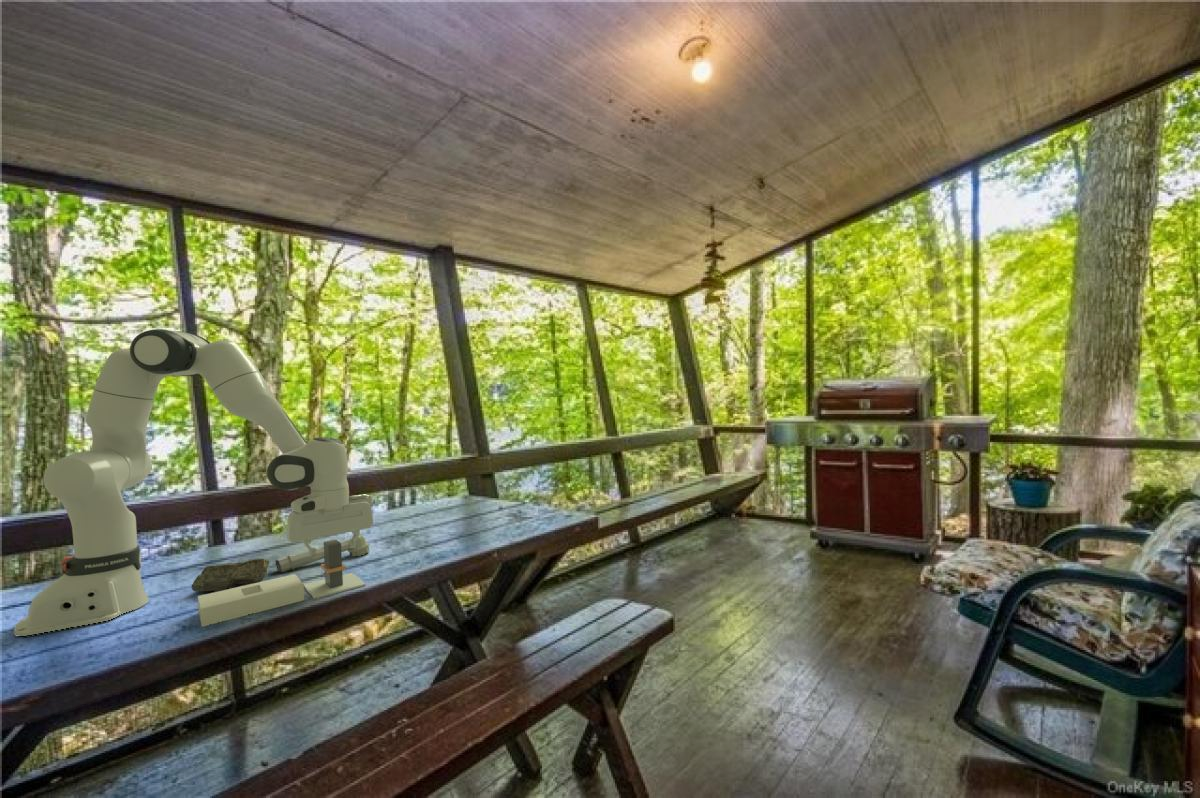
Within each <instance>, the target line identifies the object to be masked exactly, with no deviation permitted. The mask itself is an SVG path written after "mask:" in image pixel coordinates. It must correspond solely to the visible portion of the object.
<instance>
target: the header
mask: <svg viewBox="0 0 1200 798" xmlns="http://www.w3.org/2000/svg"><path fill="white" fill-rule="evenodd" d="M304 584H305V583H303V581H301V580H300V577H299V576H297V575H296V574H295V573H294V574H290V575H286V576H285V575H284V576H281V577H276V578H272V579H267V580H263V581H262V580H261V581H260V582H256V583H250V584H244V585H240V586H237V587H231V588H228V589H225V590H219V591H214V592H211V593H207V594H201V595H197V605H198V607H197V608H198V617H199V621H200V625H201V627H202V628H203V627H207V626H210V624H211V625H215V624H219V623H222V621H223V622H226V621H230V620H234V619H239V618H241V617H245V616H249V615H248V614H250V615H253V614H256V613H260V612H264V611H269V610H271V609H277V608H280V607H284V606H287V605H292V604H295V603H300V602H303V601H305V587H304ZM252 613H253V614H252ZM218 622H219V623H218Z"/></svg>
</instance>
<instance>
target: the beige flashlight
mask: <svg viewBox="0 0 1200 798" xmlns="http://www.w3.org/2000/svg"><path fill="white" fill-rule="evenodd" d="M351 539H352V537H350V538H349V539H346V540H343V541H339V542H340V543H341V553H344V552H346V551H347V553H349V557H351V556H356V557H362V556H361V555H363V556H364V555H365V554H369V553H370V546H371V544H370V542H369V541H366V538H365V536H364V535H363V534H359V536H358V538H357V540H356V547H355V548H348V541H350V540H351ZM315 549H316V553H317V555H316V556H312V557H310V556H309V550H305V551H302V552H297V553H295V554H288V555H287V556H284V557H281V558H277V559H275V566H276V571H277V573H278V574H280V572H281V573H286V572H288V571H291V570H292V571H294V570H295V569H297V568H300V567H302V566H306V565H309V564H311V563H315V562H317V561H321V560H324V546H320V547H315Z"/></svg>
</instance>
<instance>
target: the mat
mask: <svg viewBox="0 0 1200 798" xmlns="http://www.w3.org/2000/svg"><path fill="white" fill-rule="evenodd" d="M342 575H343V585H342V586H338V587H334V588H330V587H329V586H328V585H327V584H326V583H325V578H324V579H319V580H317V581H312V582H307V583H303V584H304V590H306V591H307V593H309V594H310V596H311V597H312V598H313V599H314V600H316V599H321V598H323V597H324V598H325V597H327V596H331V595H336V594H339V593H343V592H346V591H350V590H354V589H358V588H362V587H366V585H367V584H366V583H365V582H364V581H363V580H361V579H360V578H359V577H358V576H357V575H355V573H354V572H349V573H345V574H342Z"/></svg>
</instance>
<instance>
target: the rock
mask: <svg viewBox="0 0 1200 798" xmlns="http://www.w3.org/2000/svg"><path fill="white" fill-rule="evenodd" d="M269 566H270V561H268V560H267V559H264V558H254V559H249V560H245V561H239V562H238V561H236V562H227V563H221V564H218V565H207V566H205V567H204V568H203V570H202V571H201V574H199V575H197V576H196V578H195V579H194V581H193V583H192V584H191V590H192V591H193V592H212V591H214V592H219V591H223V590H227V588H228V589H231V588H234V587H235V586H243V585H249V584H254V583H258V582H259V581H260V582H262V580H263V579H265V578H266V576H267V573H268V567H269ZM234 585H235V586H234ZM230 587H231V588H230Z"/></svg>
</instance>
